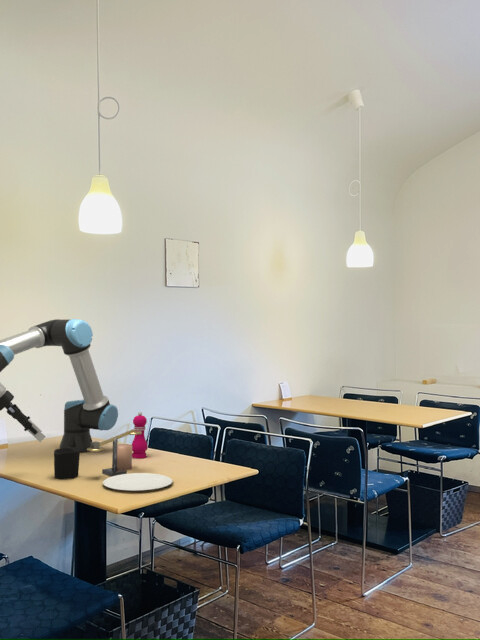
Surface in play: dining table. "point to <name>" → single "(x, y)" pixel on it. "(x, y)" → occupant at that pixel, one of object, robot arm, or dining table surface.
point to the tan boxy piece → (124, 456)
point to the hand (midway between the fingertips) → (41, 436)
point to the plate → (137, 482)
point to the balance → (96, 447)
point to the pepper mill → (139, 437)
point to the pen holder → (66, 463)
